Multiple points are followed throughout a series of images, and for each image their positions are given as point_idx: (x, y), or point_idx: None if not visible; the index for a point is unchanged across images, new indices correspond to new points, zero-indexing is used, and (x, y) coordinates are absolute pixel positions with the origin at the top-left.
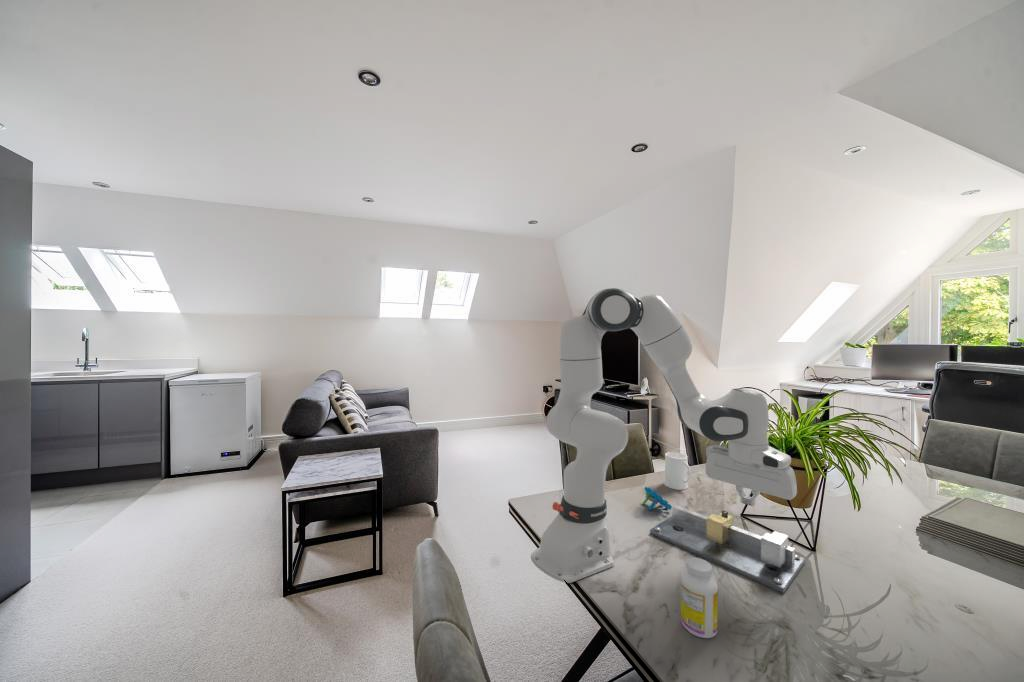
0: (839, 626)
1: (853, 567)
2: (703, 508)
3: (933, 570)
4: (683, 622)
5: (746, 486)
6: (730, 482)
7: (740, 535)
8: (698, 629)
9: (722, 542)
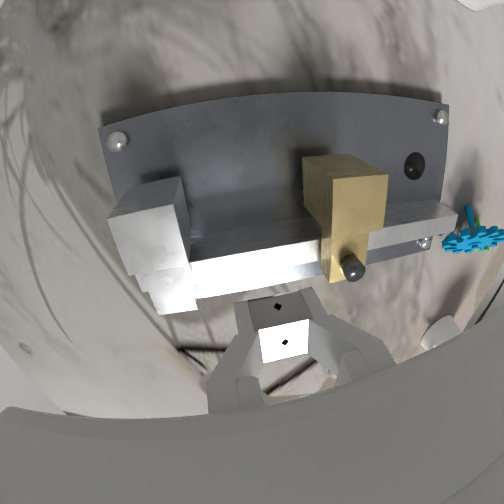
0: (11, 137)
1: (116, 347)
2: (390, 311)
3: (91, 398)
4: None
5: (310, 409)
6: (443, 352)
7: (280, 239)
8: None
9: (303, 160)
